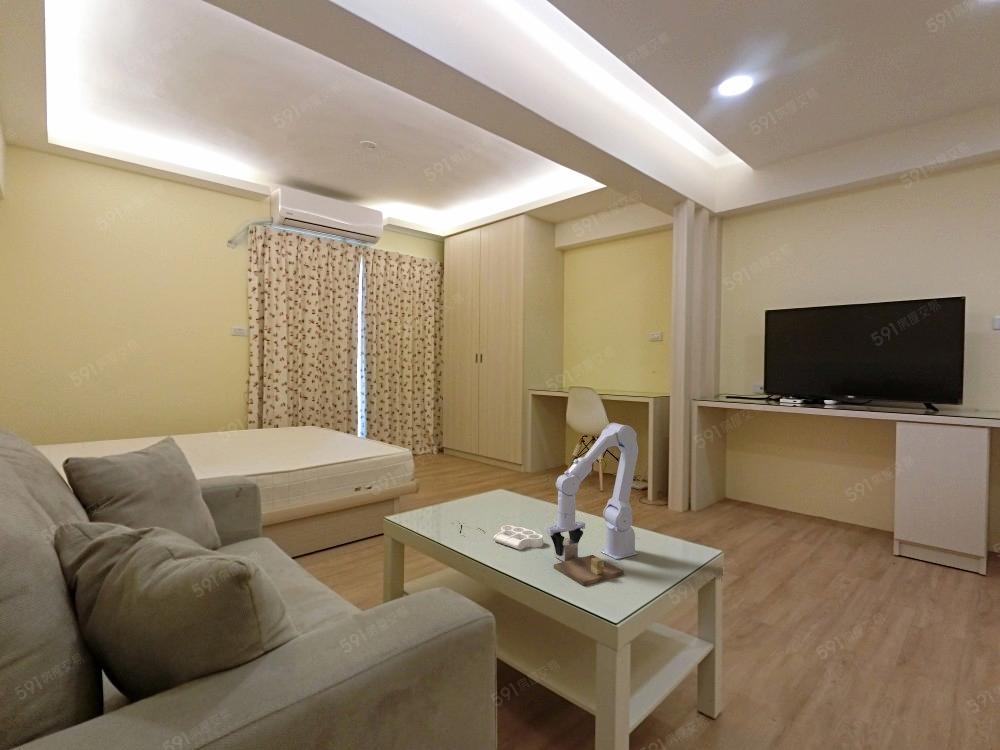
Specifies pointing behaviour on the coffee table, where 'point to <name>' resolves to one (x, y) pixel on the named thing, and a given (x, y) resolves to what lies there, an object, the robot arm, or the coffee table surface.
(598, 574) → the walnut board
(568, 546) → the brushed aluminum cube
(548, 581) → the coffee table surface
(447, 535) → the coffee table surface
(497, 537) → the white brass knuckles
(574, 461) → the robot arm
